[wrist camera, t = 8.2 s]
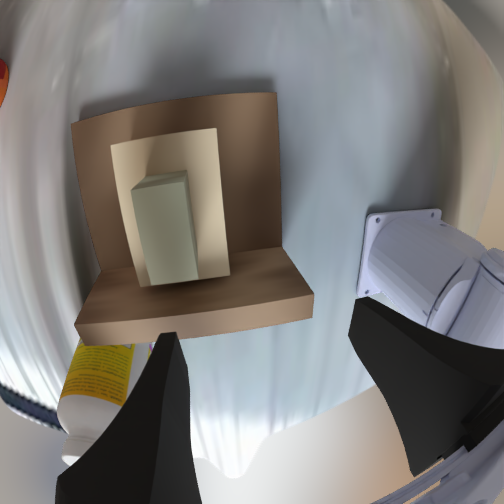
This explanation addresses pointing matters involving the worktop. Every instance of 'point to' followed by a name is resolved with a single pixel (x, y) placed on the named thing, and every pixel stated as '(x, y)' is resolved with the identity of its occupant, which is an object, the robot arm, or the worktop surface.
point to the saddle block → (172, 206)
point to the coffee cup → (3, 80)
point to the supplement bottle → (97, 391)
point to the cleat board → (235, 215)
